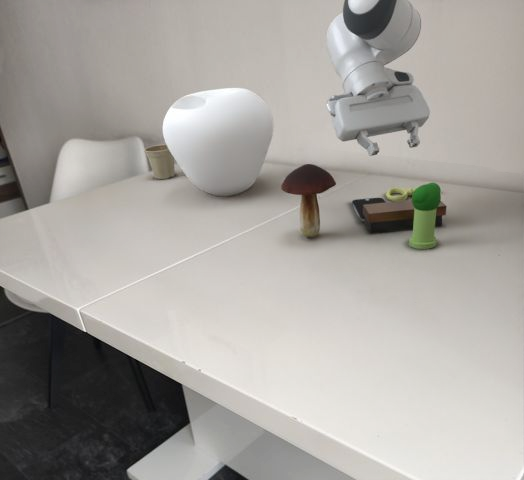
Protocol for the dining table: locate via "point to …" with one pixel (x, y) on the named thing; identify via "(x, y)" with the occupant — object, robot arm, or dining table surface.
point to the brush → (395, 216)
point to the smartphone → (360, 202)
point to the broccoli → (425, 215)
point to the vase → (219, 138)
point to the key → (399, 190)
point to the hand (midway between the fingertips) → (395, 149)
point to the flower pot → (161, 161)
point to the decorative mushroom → (308, 194)
